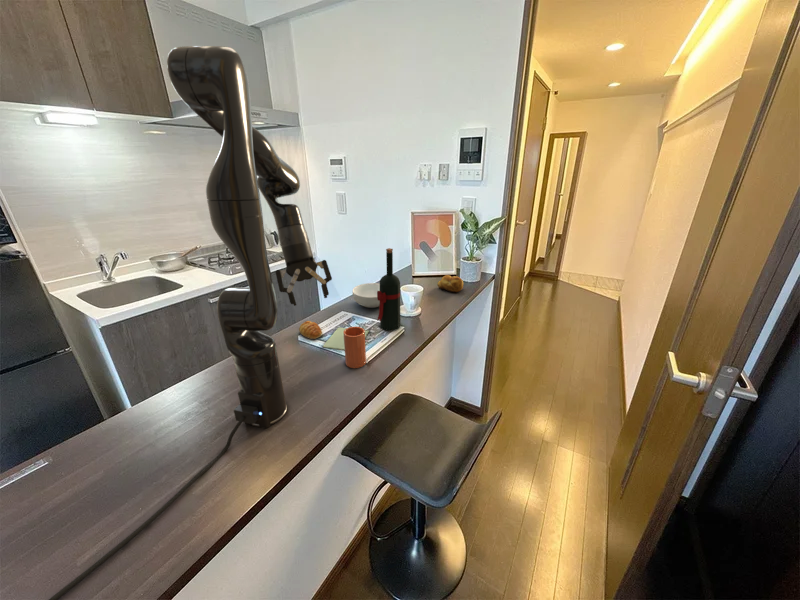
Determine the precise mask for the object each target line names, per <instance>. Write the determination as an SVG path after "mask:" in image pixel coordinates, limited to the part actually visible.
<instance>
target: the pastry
mask: <svg viewBox="0 0 800 600" xmlns="http://www.w3.org/2000/svg"><path fill="white" fill-rule="evenodd" d="M298 331H299V334H300V335H302V336H303V337H305V338H308V339H309V340H312V339H313V340H315V339H318V338H320V337H322V335H323V330H322V328H321V327H320V325H319V324H318V323H316V322H315V321H311V320H306V321H304V322H302V323H301V324H300V325H299V327H298Z"/></svg>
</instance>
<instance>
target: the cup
mask: <svg viewBox="0 0 800 600" xmlns="http://www.w3.org/2000/svg"><path fill="white" fill-rule="evenodd" d="M346 328H347V329H345V330H344V331H343V334H344V347H345V350H344V359H345V366H346V367H347V368H350V369H351V368H352V369H359V368H362V367H364V366H365V365H366V363H367V350H366V337H365V329H364V328H363V327H361V326H349V327H346Z"/></svg>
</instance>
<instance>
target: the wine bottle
mask: <svg viewBox="0 0 800 600" xmlns="http://www.w3.org/2000/svg"><path fill="white" fill-rule="evenodd" d="M385 251H386V254H385V255H386V257H385V258H386V274H384V275H383V276H382V277H380V280H379V284H380V291H377V299H378V301H380V304H379V307H378V315H377V322H378V321H379V327H380V329H382V330H384V331H387V332H394V331H397V330H399V329H400V328H401V280H400V279H399V277H398V276H397V275H395V274H394V270H393V269H394V268H393V267H394V261H393V260H394V258H393V257H394V256H393V255H394V254H393V253H394V252H393V248H390V247H389V248H386V249H385Z"/></svg>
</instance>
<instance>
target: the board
mask: <svg viewBox="0 0 800 600" xmlns="http://www.w3.org/2000/svg"><path fill="white" fill-rule="evenodd" d="M347 328H348V327H341V326H340V327H337V328H336V330H335V331H333V333H332V335H331V336H330V337H328V339H327V340H326V342H325V343H324V344H323V345H322V348H325V349H334V350H341V351H345V347H344V334H343V331H344V330H345V329H347ZM364 330H365V329H364ZM369 333H370V330H365V338H366V337H367V336H368V335H369Z"/></svg>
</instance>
